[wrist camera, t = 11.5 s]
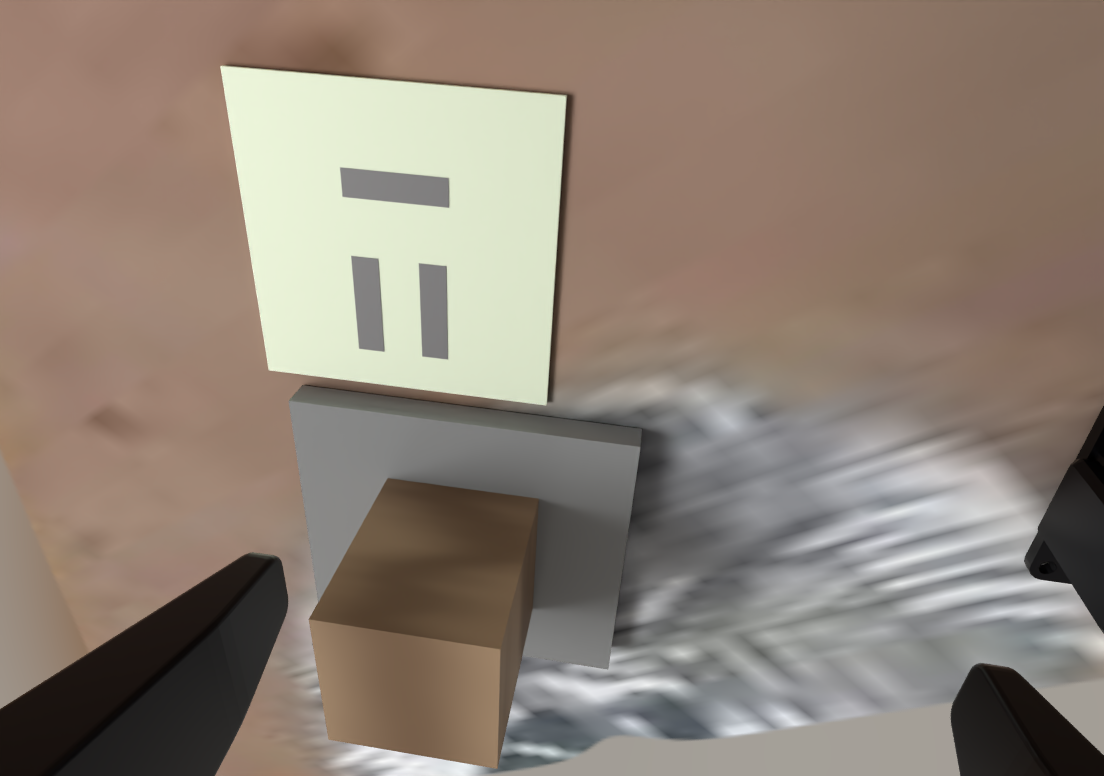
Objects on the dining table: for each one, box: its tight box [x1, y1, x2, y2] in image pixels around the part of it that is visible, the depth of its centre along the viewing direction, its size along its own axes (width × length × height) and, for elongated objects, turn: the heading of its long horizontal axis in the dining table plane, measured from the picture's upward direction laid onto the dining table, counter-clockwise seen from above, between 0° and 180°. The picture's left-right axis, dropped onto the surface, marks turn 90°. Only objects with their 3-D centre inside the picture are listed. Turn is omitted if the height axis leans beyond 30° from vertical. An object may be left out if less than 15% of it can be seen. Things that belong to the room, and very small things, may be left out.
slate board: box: [289, 385, 642, 669], centre depth 25 cm, size 11×10×1 cm
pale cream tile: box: [220, 65, 567, 405], centre depth 21 cm, size 9×9×1 cm
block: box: [309, 478, 539, 769], centre depth 22 cm, size 5×5×6 cm
